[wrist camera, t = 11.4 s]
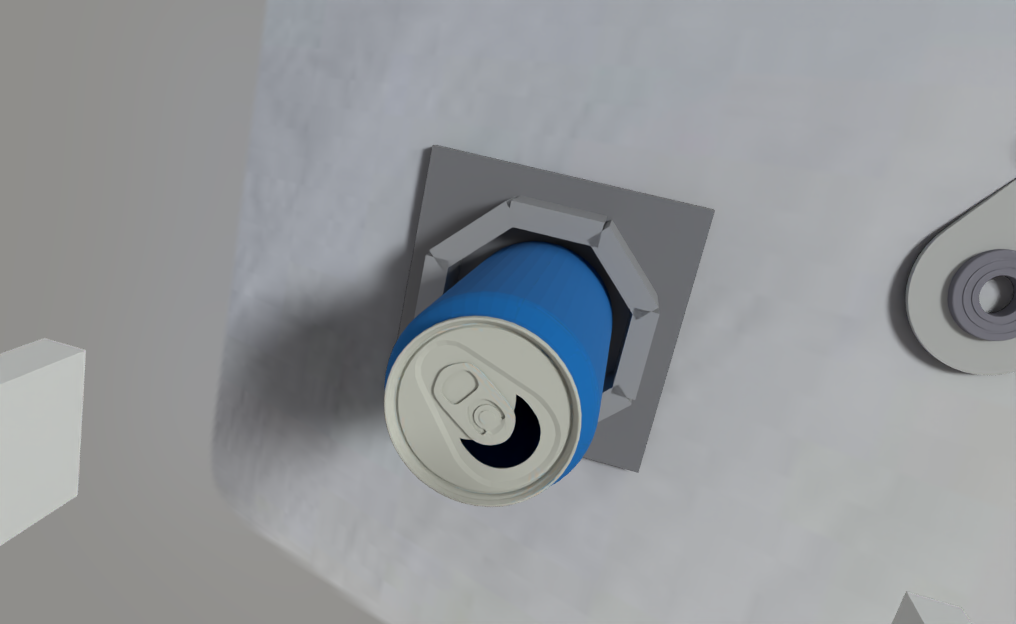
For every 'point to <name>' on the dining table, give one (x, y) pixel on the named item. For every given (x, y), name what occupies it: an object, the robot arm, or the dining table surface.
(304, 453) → the dining table surface
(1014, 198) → the bracket
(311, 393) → the dining table surface
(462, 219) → the cup holder
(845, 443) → the dining table surface
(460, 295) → the beverage can
